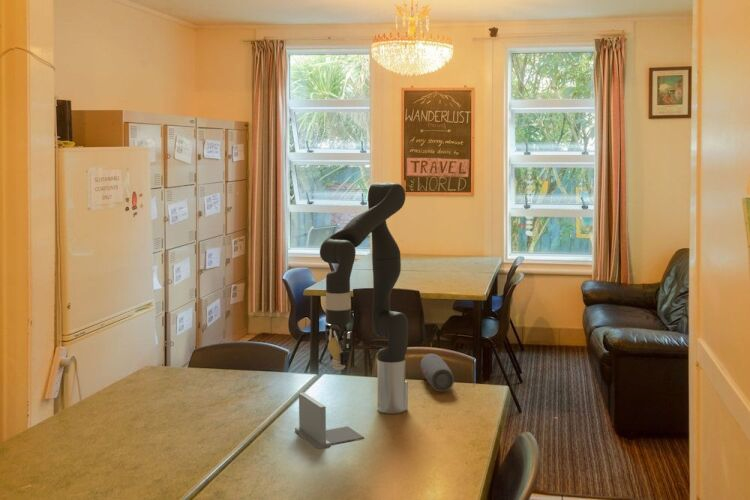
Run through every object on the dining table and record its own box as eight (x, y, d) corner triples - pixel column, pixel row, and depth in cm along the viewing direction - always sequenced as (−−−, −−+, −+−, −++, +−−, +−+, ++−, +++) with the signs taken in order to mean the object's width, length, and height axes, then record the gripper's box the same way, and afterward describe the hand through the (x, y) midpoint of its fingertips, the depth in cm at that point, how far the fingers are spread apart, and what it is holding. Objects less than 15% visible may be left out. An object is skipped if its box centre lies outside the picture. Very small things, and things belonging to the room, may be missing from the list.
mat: (347, 427, 247) (347, 426, 247) (363, 438, 237) (363, 437, 237) (315, 433, 242) (315, 432, 242) (330, 444, 232) (330, 443, 232)
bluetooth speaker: (418, 378, 302) (418, 352, 301) (442, 377, 303) (442, 351, 302) (429, 395, 279) (429, 368, 278) (455, 394, 280) (455, 367, 279)
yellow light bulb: (346, 372, 233) (346, 339, 232) (325, 371, 235) (325, 338, 233) (351, 366, 240) (351, 334, 238) (331, 365, 241) (330, 333, 240)
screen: (307, 428, 246) (306, 391, 244) (330, 446, 231) (330, 406, 229) (295, 431, 244) (294, 393, 242) (318, 448, 229) (317, 408, 228)
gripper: (360, 309, 230) (361, 366, 232) (339, 301, 243) (339, 355, 245) (337, 312, 227) (337, 369, 229) (316, 304, 239) (317, 358, 241)
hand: (338, 361), depth 237 cm, fingers closed on yellow light bulb, 6 cm apart
